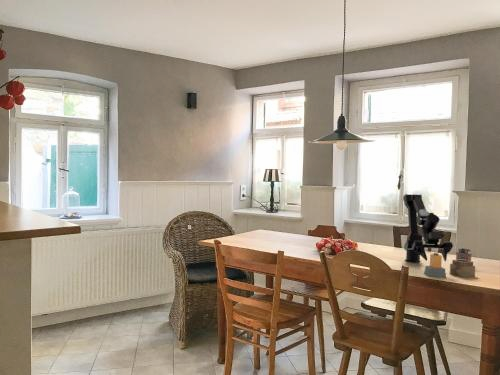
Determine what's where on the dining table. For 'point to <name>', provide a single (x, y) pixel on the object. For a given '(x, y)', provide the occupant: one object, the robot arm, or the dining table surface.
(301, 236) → the dining table surface
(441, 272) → the lower dock
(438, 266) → the plug
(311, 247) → the dining table surface
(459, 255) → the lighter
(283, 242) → the dining table surface
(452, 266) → the upper dock
